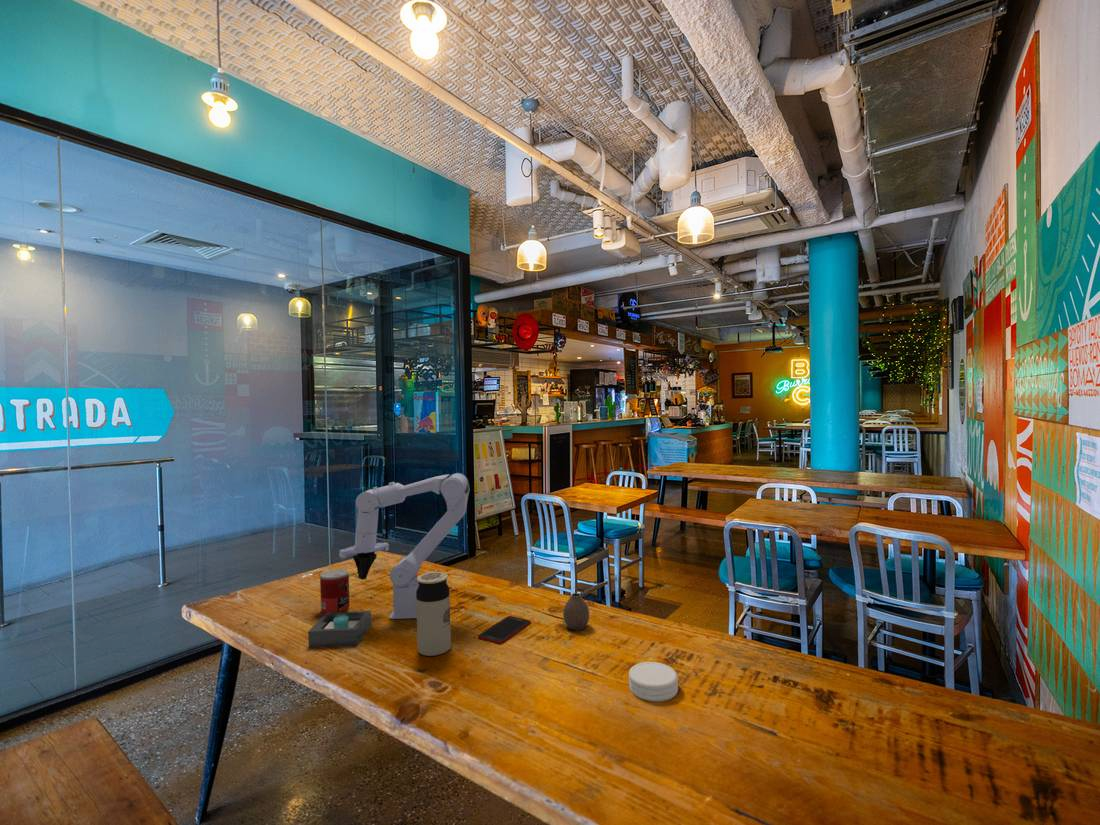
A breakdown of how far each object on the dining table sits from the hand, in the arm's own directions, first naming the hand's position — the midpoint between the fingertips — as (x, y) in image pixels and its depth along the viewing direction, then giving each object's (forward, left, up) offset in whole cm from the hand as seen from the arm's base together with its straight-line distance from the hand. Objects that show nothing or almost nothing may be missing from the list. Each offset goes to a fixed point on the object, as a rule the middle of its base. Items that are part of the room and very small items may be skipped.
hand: (362, 578), depth 150 cm
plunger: (+2, +14, -9) cm, 17 cm away
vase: (-60, +15, -11) cm, 63 cm away
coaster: (-73, +46, -11) cm, 87 cm away
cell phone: (-41, +15, -11) cm, 45 cm away
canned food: (+10, -4, -11) cm, 15 cm away
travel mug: (-24, +24, -11) cm, 36 cm away
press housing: (+2, +14, -11) cm, 17 cm away
